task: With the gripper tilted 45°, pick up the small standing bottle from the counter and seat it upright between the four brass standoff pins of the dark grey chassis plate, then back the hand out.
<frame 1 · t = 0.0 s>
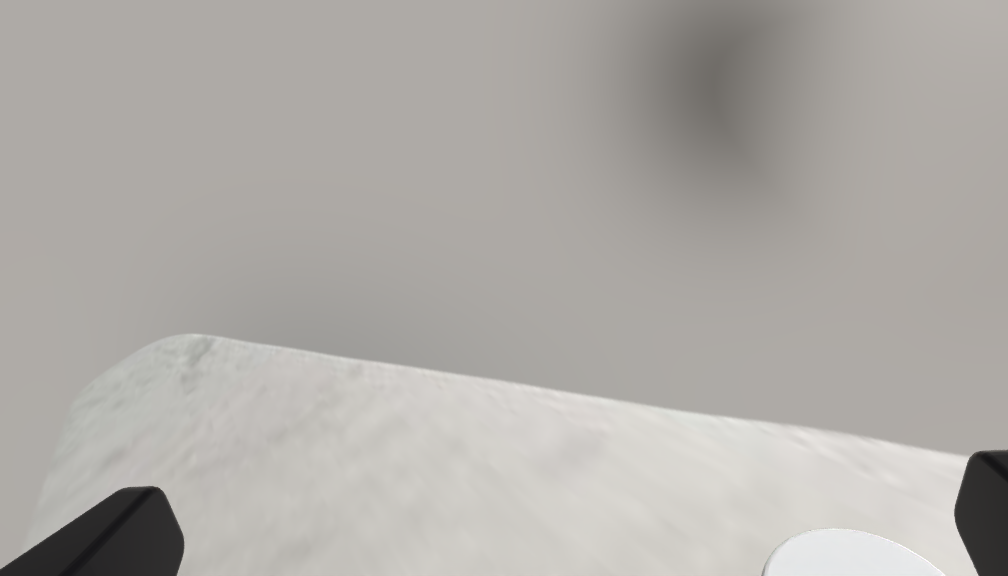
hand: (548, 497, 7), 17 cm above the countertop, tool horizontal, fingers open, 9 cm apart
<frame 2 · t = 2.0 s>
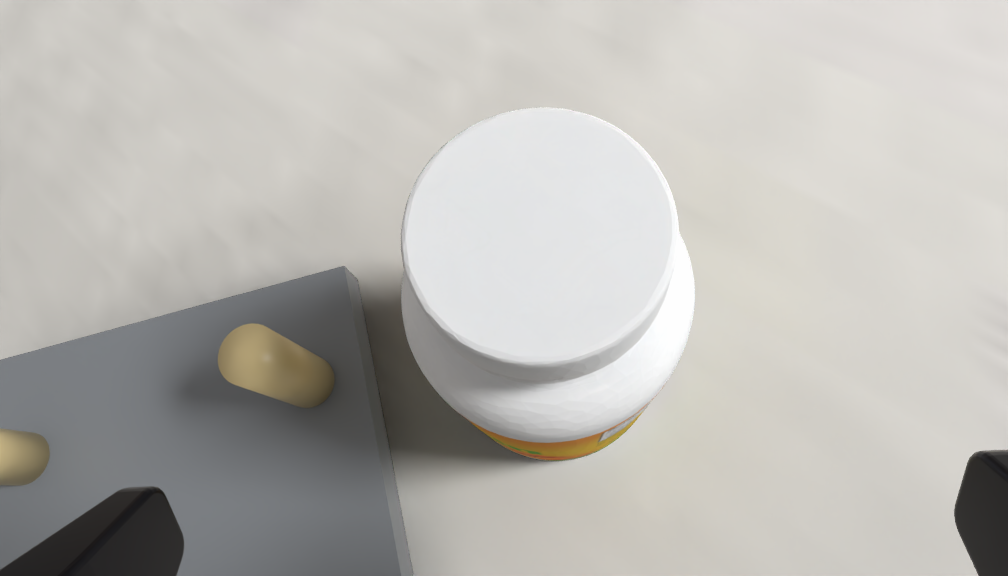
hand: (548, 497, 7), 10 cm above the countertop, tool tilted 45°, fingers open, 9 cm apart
chassis plate: (204, 572, 18), on the countertop
supplement bottle: (554, 364, 19), on the countertop
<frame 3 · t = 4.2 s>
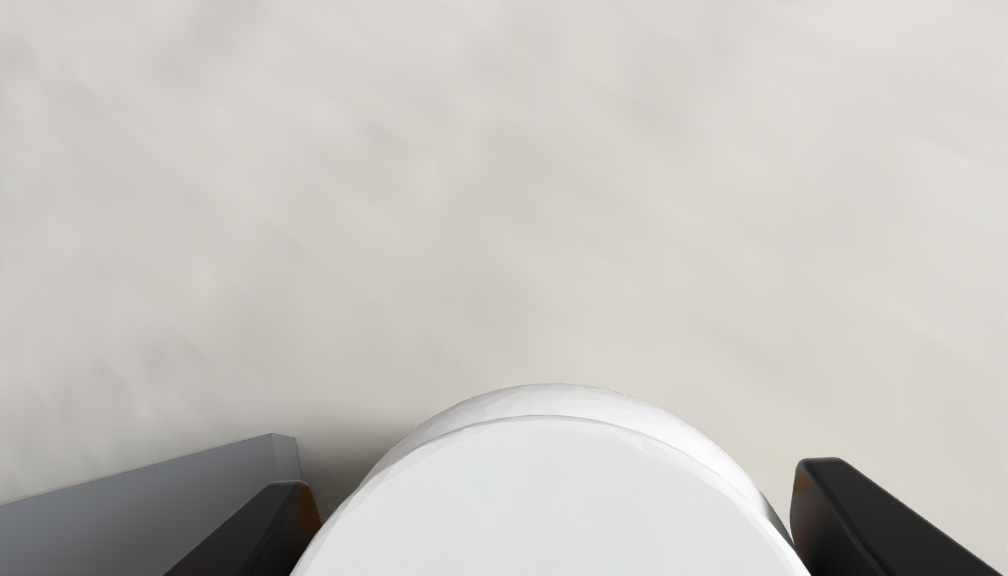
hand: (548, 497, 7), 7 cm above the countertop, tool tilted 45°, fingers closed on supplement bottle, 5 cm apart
supplement bottle: (563, 568, 14), on the countertop, touching gripper
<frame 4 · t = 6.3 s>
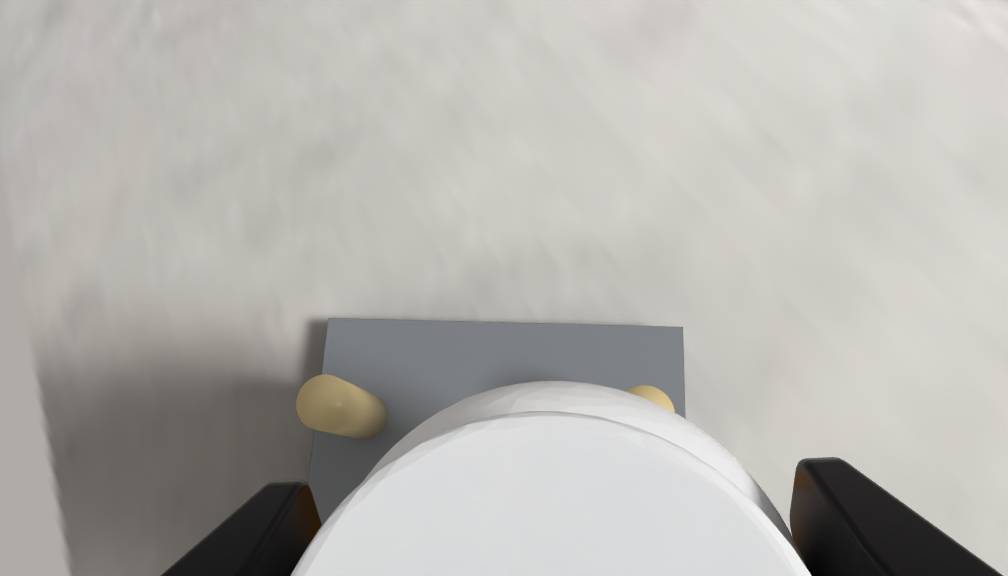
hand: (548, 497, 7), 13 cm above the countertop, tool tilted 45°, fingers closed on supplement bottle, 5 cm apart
chassis plate: (492, 561, 20), on the countertop
supplement bottle: (566, 565, 14), point 6 cm above the countertop, touching gripper
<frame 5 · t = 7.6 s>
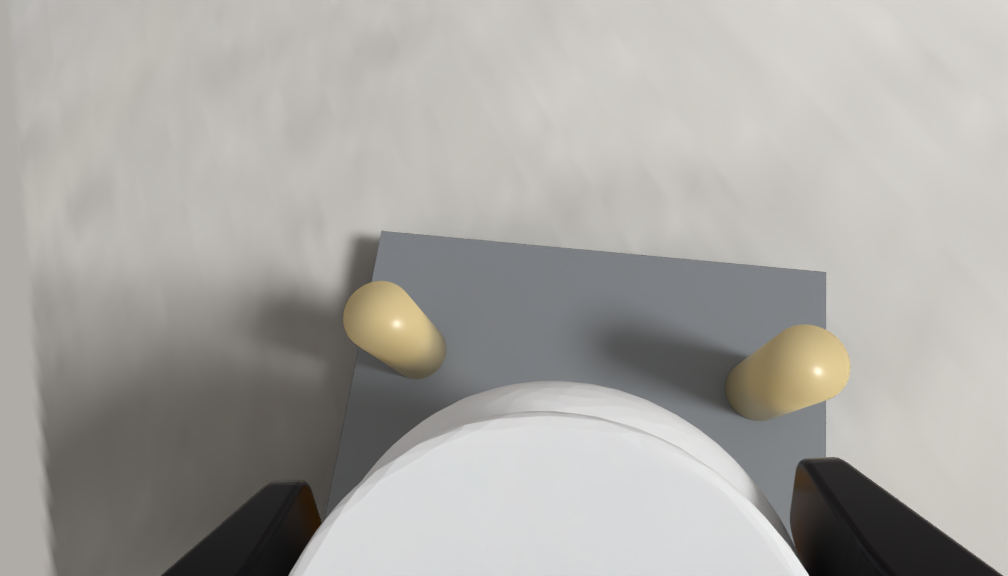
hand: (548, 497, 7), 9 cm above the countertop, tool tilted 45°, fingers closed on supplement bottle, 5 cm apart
chassis plate: (564, 544, 16), on the countertop
supplement bottle: (565, 565, 14), point 2 cm above the countertop, touching gripper
when the fingers open (9 cm above the countertop, at t = 8.4 s): supplement bottle drops 1 cm, resting on chassis plate.
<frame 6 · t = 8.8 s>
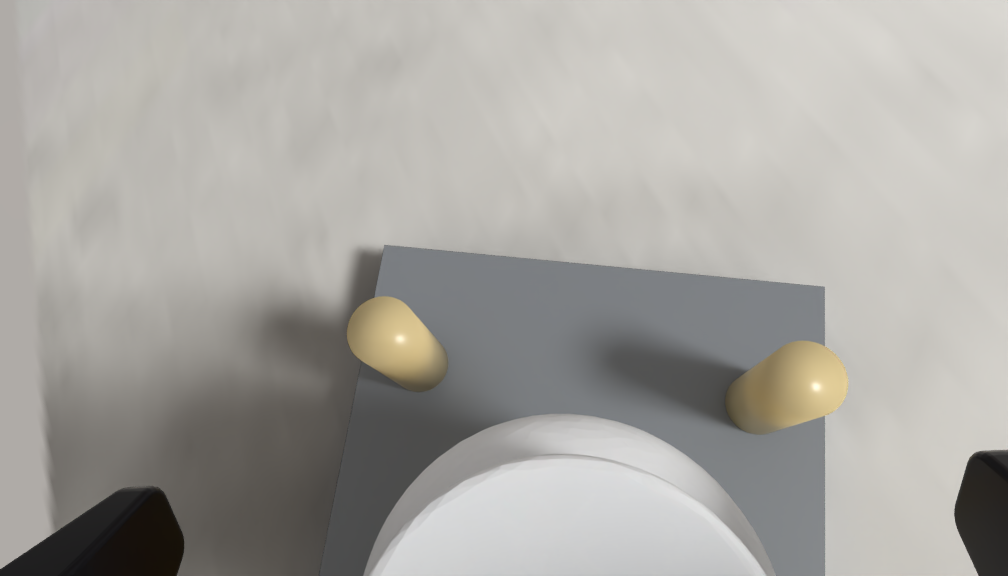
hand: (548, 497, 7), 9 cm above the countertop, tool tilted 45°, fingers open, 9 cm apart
chassis plate: (565, 556, 16), on the countertop
supplement bottle: (565, 569, 15), point 1 cm above the countertop, touching chassis plate
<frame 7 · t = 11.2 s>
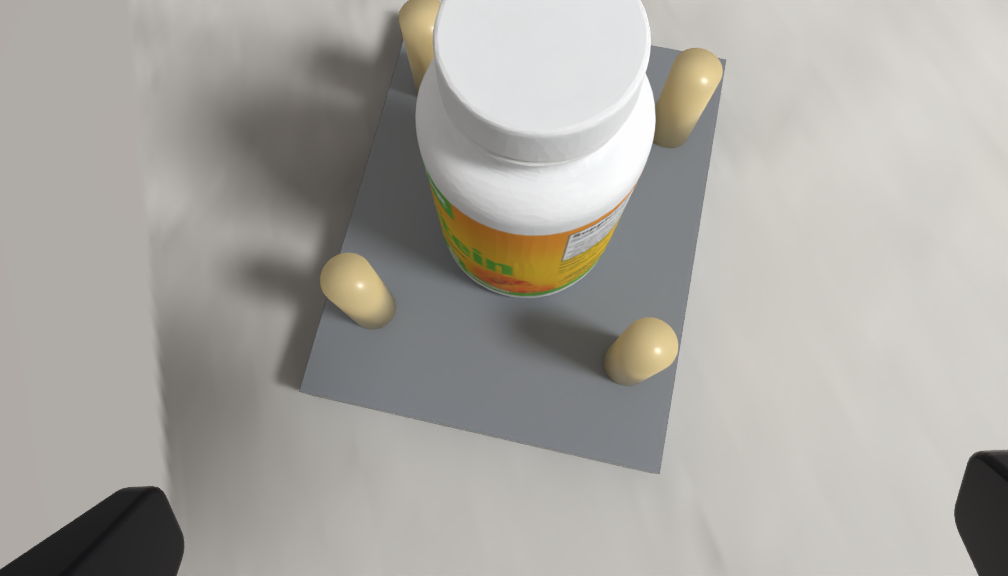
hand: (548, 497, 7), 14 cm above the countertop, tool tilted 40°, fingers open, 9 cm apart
chassis plate: (525, 227, 23), on the countertop
supplement bottle: (525, 222, 22), point 1 cm above the countertop, touching chassis plate
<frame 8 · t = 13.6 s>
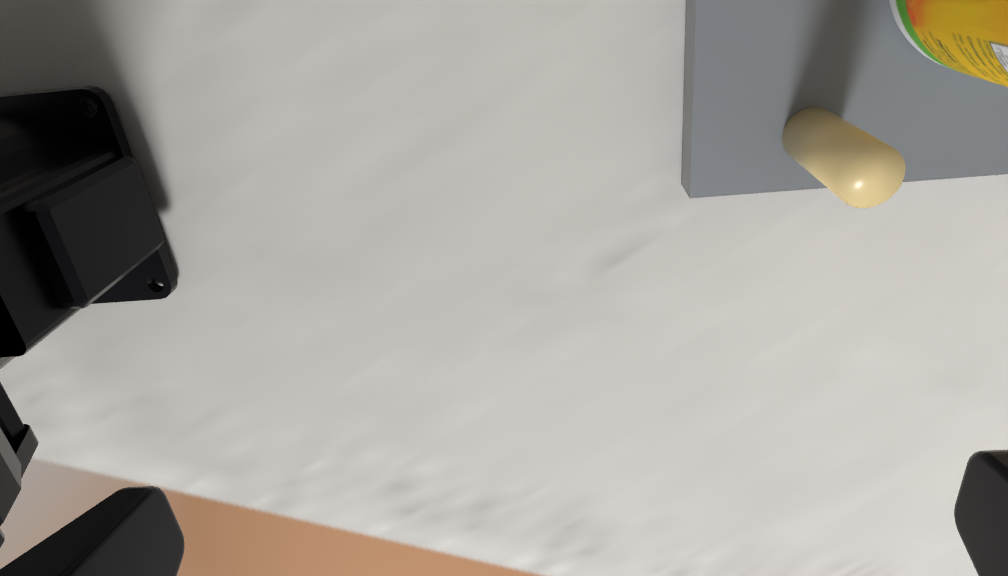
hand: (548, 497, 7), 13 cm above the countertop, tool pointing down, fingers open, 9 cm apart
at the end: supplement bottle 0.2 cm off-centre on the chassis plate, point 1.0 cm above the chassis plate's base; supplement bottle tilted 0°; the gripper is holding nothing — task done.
